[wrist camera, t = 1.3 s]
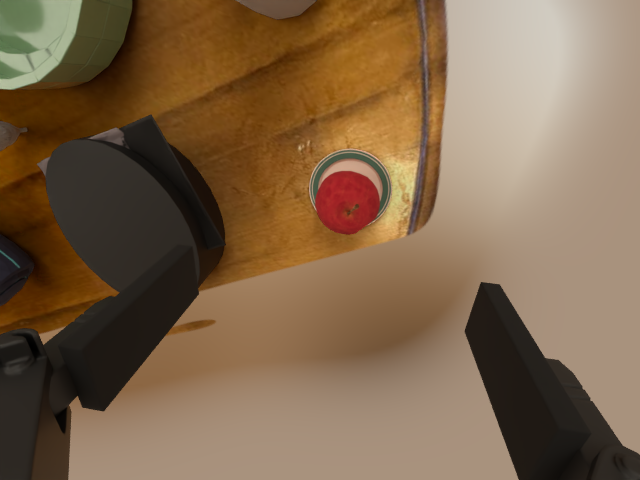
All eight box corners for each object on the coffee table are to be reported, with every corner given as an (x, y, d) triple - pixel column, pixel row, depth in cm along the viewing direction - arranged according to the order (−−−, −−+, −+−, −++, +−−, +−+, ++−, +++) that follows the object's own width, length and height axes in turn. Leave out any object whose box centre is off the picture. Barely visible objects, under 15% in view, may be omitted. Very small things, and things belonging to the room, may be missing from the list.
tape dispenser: (160, 281, 42) (124, 322, 36) (64, 149, 35) (-2, 171, 28) (259, 253, 39) (240, 292, 32) (178, 98, 31) (131, 110, 25)
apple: (404, 161, 30) (411, 181, 24) (375, 235, 34) (376, 268, 28) (321, 137, 30) (309, 150, 25) (302, 213, 34) (287, 241, 28)
